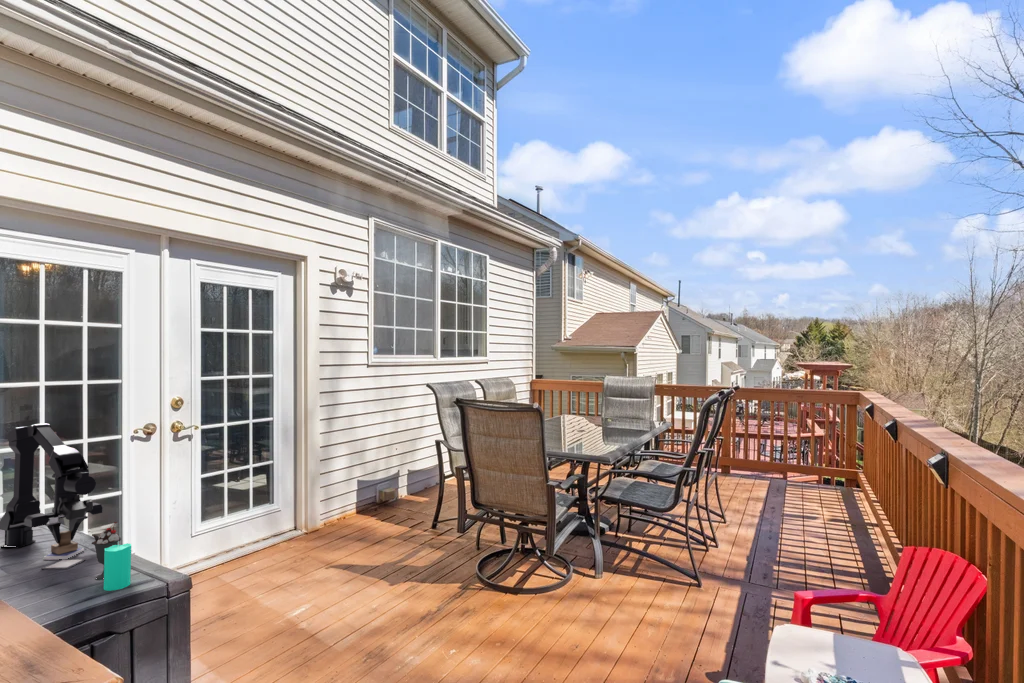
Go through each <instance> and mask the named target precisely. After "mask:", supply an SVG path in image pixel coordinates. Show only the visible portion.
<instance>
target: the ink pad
mask: <svg viewBox="0 0 1024 683" xmlns="http://www.w3.org/2000/svg"><path fill="white" fill-rule="evenodd" d="M82 551H84V552H85V548H82V547H80V548H79V547H78V549H77V551H74V552H70V553H66V554H62V555H56V554H53V553H52V552H50V553H49V554H46V555H44V556H43V560H44V561H49V560H50V561H52V560H53V561H54V560H56V561H57V560H58V561H60V560H59V559H68V558H69V559H71V558H73V557H75V556H77V555H76V554H78V553H80V552H82ZM82 553H83V552H82ZM80 554H81V553H80ZM74 555H75V556H74ZM78 555H79V554H78ZM72 556H73V557H72ZM70 557H71V558H70Z"/></svg>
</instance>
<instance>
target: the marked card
mask: <svg viewBox="0 0 1024 683" xmlns="http://www.w3.org/2000/svg"><path fill="white" fill-rule="evenodd" d="M86 559H87V558H69V559H62V560H58V561H57V560H56V561H55V562H54V563H51V564H49V565H47V566H44V567H42V568H40V569H48V570H69V569H70V568H73V567H74V566H77V565H79V564H81V563H83V562H82V561H84V560H86ZM86 561H87V560H86ZM80 562H81V563H80ZM84 562H85V561H84ZM78 563H79V564H78ZM76 564H77V565H76ZM72 566H73V567H72Z"/></svg>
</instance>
